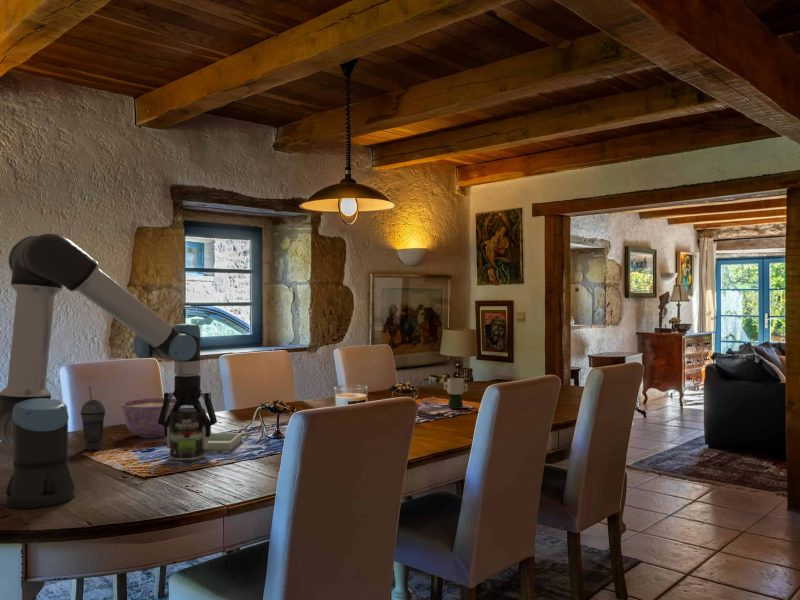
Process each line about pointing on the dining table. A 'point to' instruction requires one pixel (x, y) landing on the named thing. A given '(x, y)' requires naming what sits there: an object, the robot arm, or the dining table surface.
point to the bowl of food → (145, 416)
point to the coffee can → (186, 434)
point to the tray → (223, 441)
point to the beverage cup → (93, 422)
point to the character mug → (455, 391)
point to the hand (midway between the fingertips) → (187, 447)
